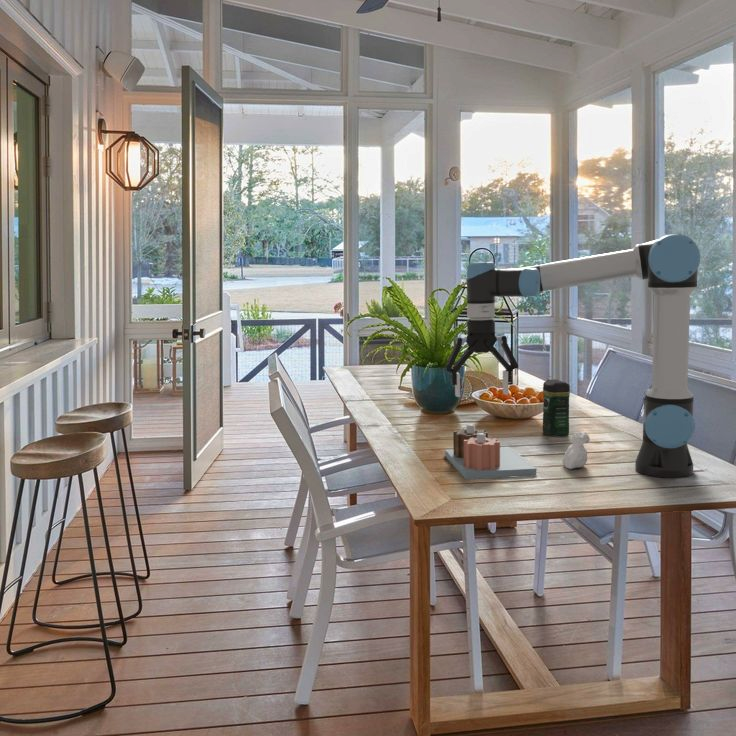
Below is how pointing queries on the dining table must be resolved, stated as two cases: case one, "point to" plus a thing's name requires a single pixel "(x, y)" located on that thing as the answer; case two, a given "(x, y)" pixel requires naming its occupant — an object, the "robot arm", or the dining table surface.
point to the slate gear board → (508, 467)
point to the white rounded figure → (576, 451)
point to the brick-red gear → (482, 454)
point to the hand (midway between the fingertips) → (481, 395)
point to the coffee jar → (556, 407)
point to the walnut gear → (459, 440)
